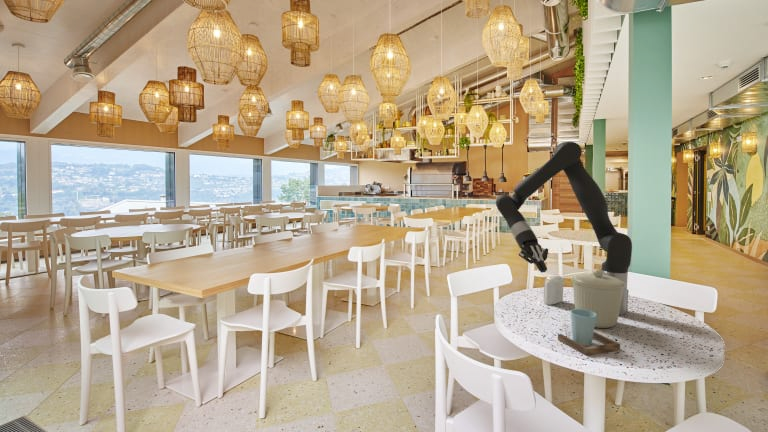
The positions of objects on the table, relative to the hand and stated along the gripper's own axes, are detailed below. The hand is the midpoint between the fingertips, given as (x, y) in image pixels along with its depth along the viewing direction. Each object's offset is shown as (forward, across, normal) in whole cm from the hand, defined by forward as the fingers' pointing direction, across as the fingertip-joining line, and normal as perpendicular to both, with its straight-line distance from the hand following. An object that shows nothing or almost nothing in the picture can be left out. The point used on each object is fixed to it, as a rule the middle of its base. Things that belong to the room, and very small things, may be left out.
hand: (544, 271), depth 139 cm
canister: (+19, +20, +11) cm, 29 cm away
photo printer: (+1, +22, +29) cm, 36 cm away
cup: (+27, +1, +2) cm, 27 cm away
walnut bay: (+28, +2, +1) cm, 28 cm away
